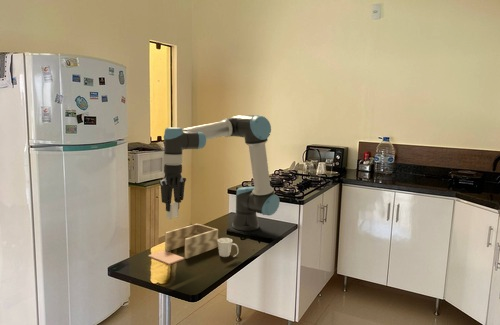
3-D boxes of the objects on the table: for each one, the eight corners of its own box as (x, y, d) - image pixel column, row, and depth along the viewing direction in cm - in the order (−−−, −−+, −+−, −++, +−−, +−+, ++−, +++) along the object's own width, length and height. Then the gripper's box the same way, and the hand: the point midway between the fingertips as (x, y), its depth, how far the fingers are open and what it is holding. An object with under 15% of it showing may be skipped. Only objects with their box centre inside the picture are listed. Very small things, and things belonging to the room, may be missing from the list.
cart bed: (196, 242, 191) (197, 223, 189) (217, 249, 182) (218, 229, 181) (165, 253, 175) (165, 232, 174) (186, 261, 166) (186, 239, 165)
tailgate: (164, 249, 174) (148, 255, 167) (185, 257, 166) (169, 263, 159) (164, 252, 174) (148, 257, 167) (185, 260, 166) (169, 266, 159)
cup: (220, 253, 177) (220, 236, 176) (240, 257, 174) (241, 239, 173) (214, 259, 170) (214, 241, 169) (235, 262, 167) (235, 244, 166)
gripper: (181, 161, 172) (180, 212, 175) (152, 164, 160) (152, 219, 163) (192, 163, 168) (191, 215, 171) (164, 166, 155) (163, 223, 158)
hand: (172, 217), depth 167 cm, fingers open, 3 cm apart
